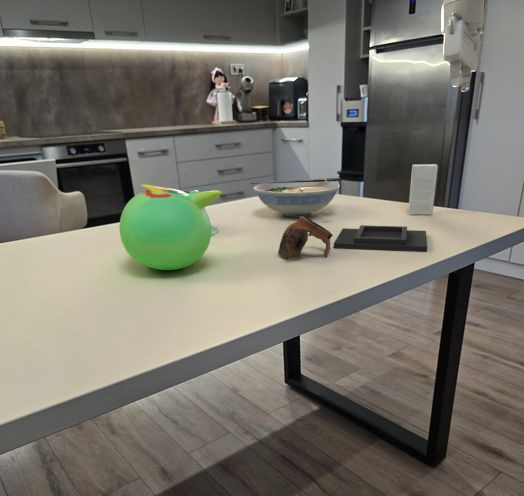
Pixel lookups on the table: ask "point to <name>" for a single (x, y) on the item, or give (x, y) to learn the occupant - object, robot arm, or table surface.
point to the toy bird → (167, 227)
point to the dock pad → (382, 238)
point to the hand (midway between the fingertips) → (460, 88)
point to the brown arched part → (302, 237)
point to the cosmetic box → (422, 189)
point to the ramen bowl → (297, 195)
